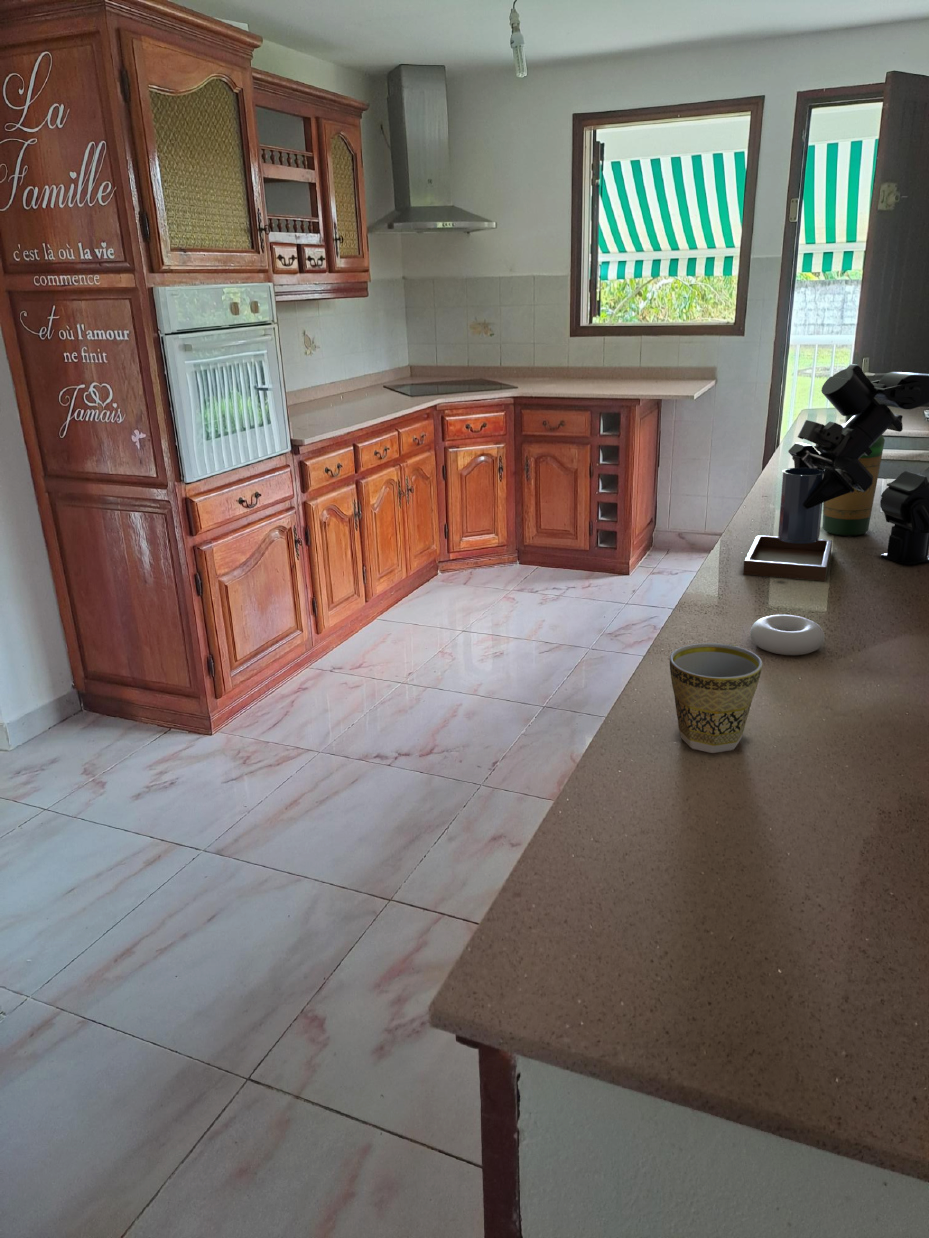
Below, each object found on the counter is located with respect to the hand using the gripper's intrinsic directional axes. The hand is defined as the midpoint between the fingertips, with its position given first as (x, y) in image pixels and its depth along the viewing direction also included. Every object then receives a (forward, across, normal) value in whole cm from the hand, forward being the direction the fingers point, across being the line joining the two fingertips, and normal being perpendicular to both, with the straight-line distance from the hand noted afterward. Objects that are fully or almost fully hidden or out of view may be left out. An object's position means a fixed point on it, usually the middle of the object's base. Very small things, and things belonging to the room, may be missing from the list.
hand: (794, 502), depth 153 cm
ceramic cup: (+36, +54, -18) cm, 67 cm away
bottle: (-7, -20, +26) cm, 34 cm away
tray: (+7, -4, +10) cm, 13 cm away
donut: (+21, +32, -3) cm, 38 cm away
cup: (+4, 0, +6) cm, 7 cm away
